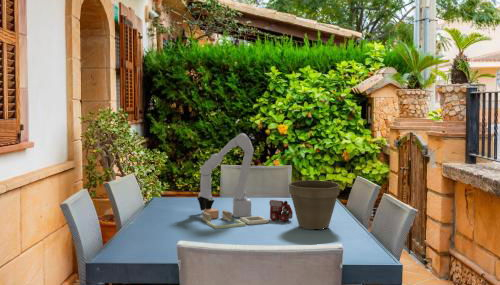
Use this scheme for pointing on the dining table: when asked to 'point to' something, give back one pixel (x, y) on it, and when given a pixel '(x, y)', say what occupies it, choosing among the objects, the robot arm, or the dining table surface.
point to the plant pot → (314, 202)
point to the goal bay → (227, 225)
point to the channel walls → (225, 215)
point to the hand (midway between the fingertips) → (205, 211)
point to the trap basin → (254, 220)
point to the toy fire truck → (280, 210)
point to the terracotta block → (212, 213)
